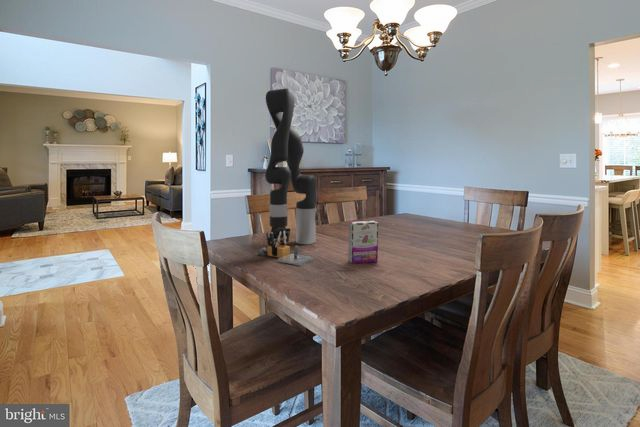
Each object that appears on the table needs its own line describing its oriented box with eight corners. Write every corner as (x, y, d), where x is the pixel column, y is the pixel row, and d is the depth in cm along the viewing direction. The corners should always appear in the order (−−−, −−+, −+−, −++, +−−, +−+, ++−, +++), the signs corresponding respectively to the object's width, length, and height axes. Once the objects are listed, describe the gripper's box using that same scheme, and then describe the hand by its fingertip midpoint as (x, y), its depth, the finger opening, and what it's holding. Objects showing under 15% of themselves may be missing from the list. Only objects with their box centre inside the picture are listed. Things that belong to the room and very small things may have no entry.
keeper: (292, 256, 157) (292, 241, 157) (314, 260, 152) (314, 245, 151) (277, 261, 149) (277, 246, 148) (300, 265, 143) (300, 250, 142)
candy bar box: (372, 259, 155) (374, 220, 152) (377, 262, 150) (379, 222, 147) (347, 260, 152) (348, 221, 149) (351, 264, 147) (352, 223, 144)
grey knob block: (264, 252, 163) (264, 246, 162) (269, 253, 161) (269, 247, 161) (258, 254, 159) (258, 248, 159) (263, 255, 158) (263, 249, 157)
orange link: (274, 252, 163) (274, 244, 162) (289, 255, 159) (289, 246, 158) (267, 255, 158) (267, 246, 158) (282, 258, 154) (282, 248, 154)
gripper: (281, 212, 164) (281, 249, 166) (260, 216, 152) (261, 256, 154) (295, 213, 160) (295, 252, 163) (275, 217, 148) (275, 259, 150)
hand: (278, 254), depth 158 cm, fingers closed on orange link, 5 cm apart
